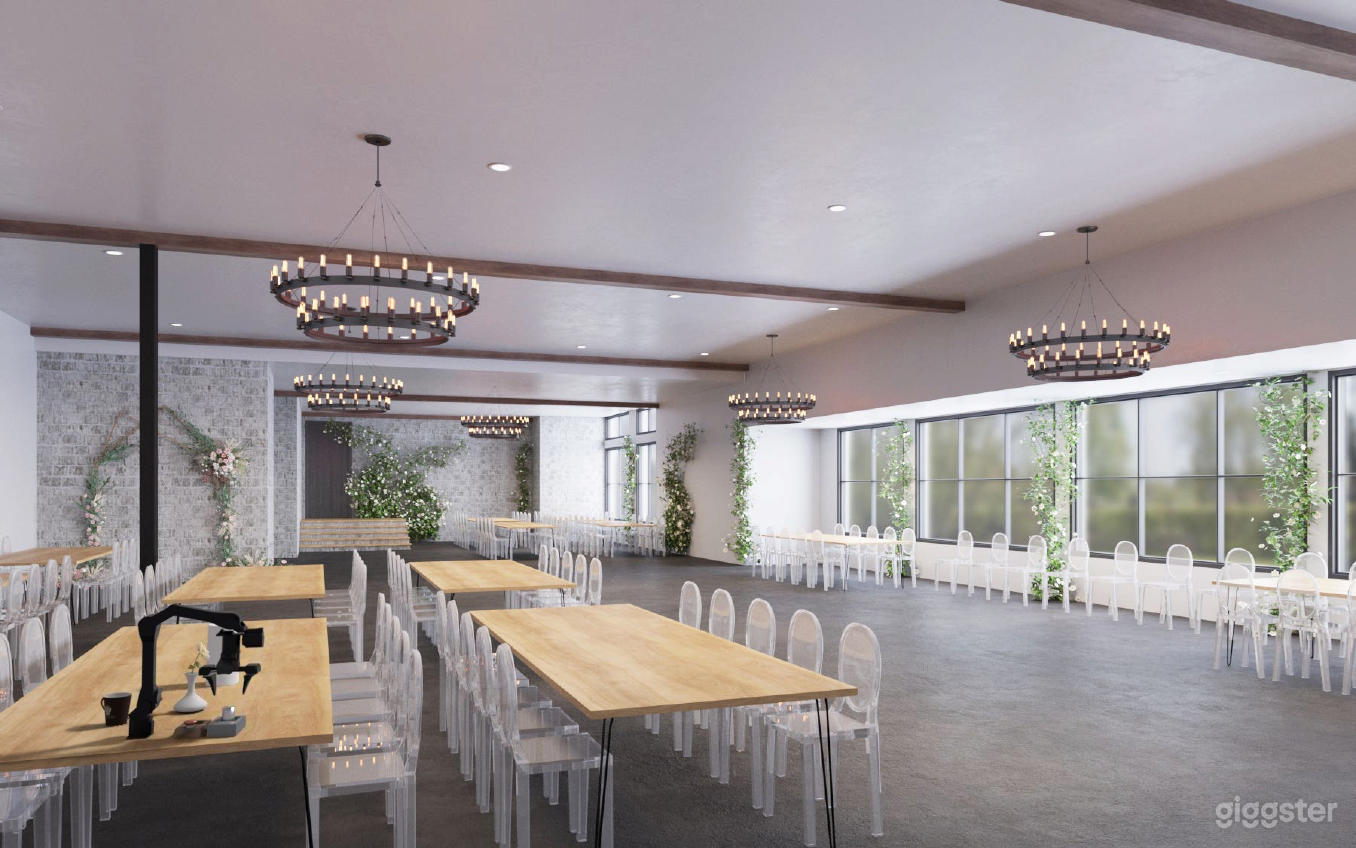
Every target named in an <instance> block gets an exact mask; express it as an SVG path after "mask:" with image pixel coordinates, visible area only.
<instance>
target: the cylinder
mask: <svg viewBox="0 0 1356 848" xmlns="http://www.w3.org/2000/svg"><path fill="white" fill-rule="evenodd" d="M221 629H222V627H219V626H217V625H215V624H213V623H209V624H208V625H207V643H206V649H207V651H209V653H208V654H209V656H210V658H208V659H209V660H206V664H205V665H212V664H215V666H216V665H217V663H218V661H219V660H220V656H221V653H222V636H216V634H217V633H219V631H220V630H221ZM223 629H224V630H225V631H229V630H227V629H225V628H223ZM234 633H237V632H236V631H234ZM239 673H240V672H232V673H231V674H229V675H227V674H221V675H217V673H216V688H217V687H218V688H220V687H227V686H226V685H230V686H234V685H236V683H237V684H238V683H239V676H240V675H239ZM205 686H206V687H210V684H209V682H208V680H207V679H206V678H205Z"/></svg>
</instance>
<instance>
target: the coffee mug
mask: <svg viewBox="0 0 1356 848" xmlns="http://www.w3.org/2000/svg"><path fill="white" fill-rule="evenodd" d="M132 695H133V693H132V692H126V691H125V692H121V691H120V692H113V693H107V694H105V695H103V697H101V699H100V706H101V708H102V709H103V710H104V711H103V712H104V721H105V726H106V727H119V725H121V726H124V725H123V724H125V725H126V724H128V721H129V716H128V714H129V713H130V708H131V707H130V706H131V702H132V697H133V696H132Z"/></svg>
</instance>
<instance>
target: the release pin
mask: <svg viewBox="0 0 1356 848" xmlns="http://www.w3.org/2000/svg"><path fill="white" fill-rule="evenodd" d="M197 720H198V719H186V720H183V723H184V724H186V726H185V728H195V723H197Z"/></svg>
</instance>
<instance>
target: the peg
mask: <svg viewBox="0 0 1356 848" xmlns="http://www.w3.org/2000/svg"><path fill="white" fill-rule="evenodd" d="M221 716H222V721H235V716H236V705H227V706H226V705H225V706H222V708H221Z"/></svg>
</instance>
